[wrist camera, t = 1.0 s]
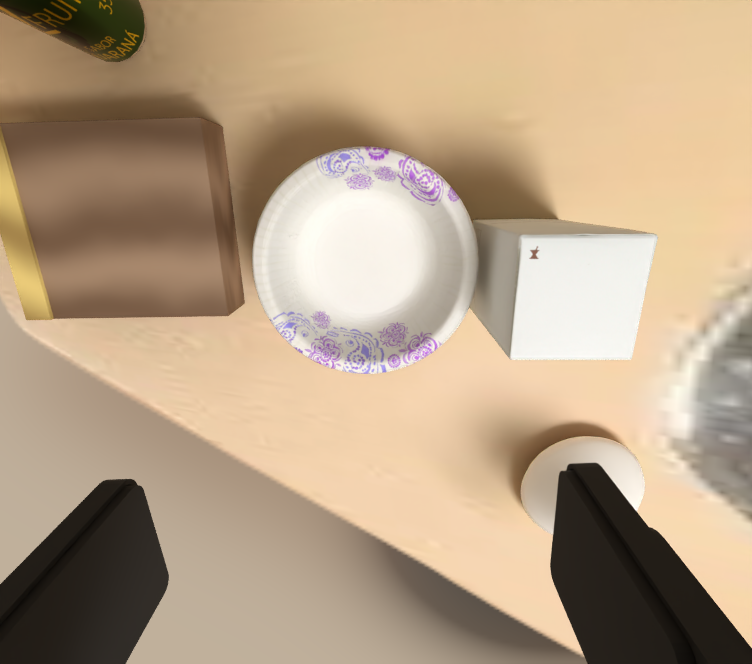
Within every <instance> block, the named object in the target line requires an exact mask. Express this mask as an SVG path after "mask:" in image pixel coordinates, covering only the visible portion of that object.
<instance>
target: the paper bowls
mask: <svg viewBox="0 0 752 664" xmlns="http://www.w3.org/2000/svg"><path fill="white" fill-rule="evenodd" d="M478 265H479V259H478V245H477V238H476V234H475V230H474V227H473V224H472V222H471V219H470V217H469V214H468V212H467V210H466V208H465V206H464V204H463V202H462V200H461V199H460V198H459V196H458V195H457V194H456V193H455V191H454V190H453V189H452V187H451V186H450V185H449V184H448V183H447V182H446V180H445V179H443V178H442V177H441V176H440V175H439V174H438V173H437V172H435V171H434V170H433V169H431V168H430V167H429V166H427V165H425V164H423V163H422V162H420V161H419V160H417V159H416V158H413V157H411V156H409V155H407V154H405V153H402V152H399V151H395V150H392V149H387V148H380V147H371V146H367V147H364V146H360V147H349V148H341V149H337V150H334V151H330V152H327V153H325V154H322V155H320V156H317V157H315V158H313V159H311V160H309V161H307V162H306V163H304V164H302V165H301V166H300V167H299V168H298V169H296V170H295V171H294V172H292V173H291V174H290V175H289V176H288V177H287V178H285V179H284V181H283V182H282V183H280V185H279V186H278V187H277V188H276V189H275V191H274V192H273V194H272V195H271V197H270V198H269V200H268V202H267V204H266V206H265V208H264V210H263V212H262V214H261V216H260V218H259V220H258V224H257V228H256V232H255V235H254V242H253V250H252V268H253V276H254V282H255V286H256V290H257V293H258V297H259V299H260V302H261V304H262V306H263V308H264V311H265V313H266V314H267V316H268V318H269V319H270V321H271V323H272V324H273V326H274V327H275V328H276V329H277V331H278V332H279V333H280V335H282V337H283V338H284V339H285V340H286V341H287V342H288V343H289V344H290V345H291V346H293V347H294V348H295V349H296V350H297V351H299V352H300V353H302V354H303V355H305V356H306V357H308V358H309V359H311V360H313V361H315V362H317V363H319V364H322V365H324V366H326V367H329V368H333V369H336V370H340V371H344V372H349V373H361V374H373V373H374V374H376V373H382V372H388V371H393V370H397V369H400V368H403V367H406V366H409V365H411V364H414V363H415V362H418V361H420V360H421V359H423V358H425V357H426V356H428V355H429V354H431V353H433V352H434V351H435V350H436V349H438V348H439V347H440V346H441V345H443V344H444V343H445V341H446V340H447V339H449V337H450V336H451V335H452V334H453V333H454V332H455V331H456V329H457V328H458V327H459V325H460V323H461V322H462V320H463V318H464V317H465V315H466V313H467V311H468V309H469V306H470V304H471V302H472V298H473V296H474V292H475V289H476V285H477V278H478V270H479V267H478Z"/></svg>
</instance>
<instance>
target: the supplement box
mask: <svg viewBox="0 0 752 664" xmlns="http://www.w3.org/2000/svg"><path fill="white" fill-rule="evenodd" d="M473 227H474V230H475V234H476V238H477V245H478V259H479V265H478V267H479V270H478V278H477V285H476V289H475V292H474V296H473V298H472V302H471V304H470V306H469V307H470V309H471V310H472V311H473V313H474V314H475V315H476V316H477V318H478V319H479V320H480V321H481V323H482V324H483V325H484V326H485V328H486V329H487V330H488V332H489V333H490V334H491V335H492V337H493V338H494V339H495V341H496V342H497V343H498V344H499V346H500V347H501V348H502V350H503V351H504V352H505V353H506V355H507V356H508V357H509V359H511V360H630V359H632V355H633V350H634V345H635V340H636V335H637V330H638V325H639V320H640V315H641V310H642V305H643V300H644V295H645V291H646V286H647V282H648V278H649V273H650V269H651V265H652V260H653V256H654V251H655V247H656V243H657V239H658V237H657V235H656V234H652V233H647V232H642V231H636V230H630V229H623V228H615V227H607V226H600V225H593V224H585V223H578V222H572V221H566V220H559V219H489V220H473Z"/></svg>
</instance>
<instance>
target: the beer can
mask: <svg viewBox="0 0 752 664" xmlns="http://www.w3.org/2000/svg"><path fill="white" fill-rule="evenodd" d="M0 12H2V13H4V14H6V15H8V16H10V17H13V18H15V19H17V20H19V21H21V22H23V23H25V24H27V25H29V26H31V27H34V28H36V29H38V30H40V31H42V32H44V33H46V34H48V35H50V36H53V37H55V38H57V39H59V40H61V41H63V42H65V43H67V44H69V45H71V46H74V47H76V48H78V49H80V50H82V51H84V52H86V53H88V54H90V55H93V56H95V57H97V58H99V59H102V60H104V61H108V62H120V61H123V60H126V59H128V58H131V57H133V56H134V55H135V54H136V53H137V52H139V51H140V49H141V47H142V45H143V43H144V41H145V35H146V22H145V16H144V13H143V10H142V8H141V5H140V2H139V0H0Z"/></svg>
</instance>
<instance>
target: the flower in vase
mask: <svg viewBox="0 0 752 664" xmlns="http://www.w3.org/2000/svg"><path fill="white" fill-rule="evenodd" d="M571 463H598V464H599V465H601V466H602V468H603V469H604V470H605V472H606V473H607V474H608V475H609V477H610V478H611V479H612V481H613V482H614V483H615V484H616V486H617V487H618V488H619V490H620V491H621V492H622V494H623V495H624V496H625V497H626V499H627V500H628V501H629V503H630V504H631V505H632V506H633V508H634V509H635V510H636V512H637V510H638V508H639V505H640V503H641V501H642V498H643V495H644V490H645V481H644V475H643V472H642V468H641V466H640V463H639V461H638V460H637V458H636V457H635V455H634V454H633V453H632V452H631V451H630V450H629V449H628V448H627V447H625V446H623V445H622V444H620V443H618V442H616V441H614V440H611V439H607V438H603V437H594V436H581V437H573V438H569V439H565V440H562V441H560V442H557V443H555V444H553V445H551V446H549V447H548V448H547V449H545V450H544V451H542V452H541V453H540V454H539V455H538V456H537V457H536V458H535V459H534V460H533V461H532V463H531V464H530V466H529V467H528V469H527V471H526V473H525V475H524V478H523V480H522V485H521V501H522V504H523V507H524V509H525V511H526V513H527V515H528V516H529V517H530V518H531V519H532V521H533V522H535V523H536V524H537V525H538V526H539V527H540V528H542V529H543V530H544V531H546V532H548V533H550V534H552V535H553V531H554V521H555V510H556V499H557V489H558V478H559V473H560V471H566V469H567V466H568V464H571Z"/></svg>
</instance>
